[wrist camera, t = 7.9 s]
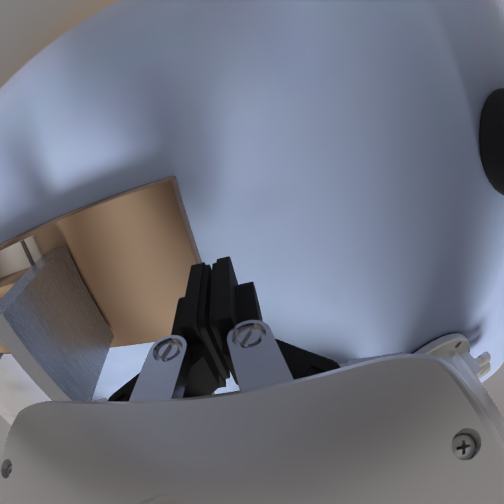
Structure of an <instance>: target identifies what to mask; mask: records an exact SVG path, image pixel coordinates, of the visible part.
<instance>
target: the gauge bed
mask: <svg viewBox="0 0 504 504" xmlns="http://www.w3.org/2000/svg"><path fill="white" fill-rule="evenodd" d="M63 245H66V248H67V250H68V252H69V254H70V256H71V258H72V261H73V263H74V265H75V267H76V269H77V271H78V273H79V275H80V277H81V279H82V281H83V283H84V284H85V286H86V288H87V290H88V292H89V294H90V296H91V297H92V299H93V301H94V303H95V305H96V306H97V308H98V310H99V311H100V313H101V315H102V317H103V318H104V320H105V322H106V323H107V325H108V326H109V328H110V330H111V331H112V333H113V334H114V338H113V340H112V343H111V345H110V347H118V346H127V345H135V344H142V343H150V342H156V341H158V340H159V339H161V338H163V337H166V336H170V335H171V332H172V327H173V322H174V318H175V313H176V308H177V304H178V300H179V298H181V297H185V293H186V288H187V283H188V278H189V274H190V269H191V265H195V264H199V263H202V262H201V259H200V256H199V253H198V250H197V247H196V244H195V241H194V238H193V235H192V231H191V228H190V225H189V222H188V219H187V215H186V212H185V209H184V206H183V202H182V199H181V196H180V192H179V189H178V186H177V182H176V179H175V176H173V177H169V178H166V179H163V180H159V181H156V182H153V183H150V184H147V185H143V186H140V187H137V188H134V189H131V190H128V191H125V192H122V193H120V194H117V195H114V196H111V197H108V198H105V199H103V200H100V201H97V202H95V203H92V204H89V205H87V206H84V207H82V208H79V209H77V210H74V211H72V212H69V213H67V214H64V215H62V216H60V217H57V218H55V219H53V220H50V221H48V222H46V223H44V224H41V225H39V226H37V227H35V228H33V229H30V230H28V231H26V232H24V233H22V234H20V235H18V236H16V237H14V238H12V239H10V240H8V241H6V242H4V243H2V244H0V300H1V299H2V298H3V296H4V295H5V294H6V293H7V292H8V291H9V290H10V289H11V287H12V286H13V285H14V284H15V283H16V282H17V281H18V280H19V279H20V278H21V277H22V275H23V274H24V273H25V272H26V271H27V270H28V269H29V268H30V267H31V266H32V265H33V264H34V263H35V262H36V261H37V260H38V259H39V258H40V257H41V256H42V255H43V254H44V253H45V252H47V251H49V250H52V249H55V248H58V247H60V246H63ZM0 353H4V354H11V353H10V352H9V350H8V349H7V348H6V346H5V345H4V344H2V345H0Z"/></svg>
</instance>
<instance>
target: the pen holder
mask: <svg viewBox="0 0 504 504" xmlns="http://www.w3.org/2000/svg"><path fill="white" fill-rule="evenodd" d="M480 151H481V157H482V162H483V166H484V170H485V172H486V175H487V177H488V179H489V181H490V183H491V184H492V186H493V187H494V188H495V189H496V190H497V191H498V192H499V193H501V194H503V195H504V88H502V89H497V90H495V91H494V92H493V93H492V94H491V95H490V96H489V97H488V99H487V101H486V103H485V105H484V108H483V111H482V115H481V122H480Z"/></svg>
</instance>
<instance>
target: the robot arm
mask: <svg viewBox="0 0 504 504" xmlns="http://www.w3.org/2000/svg"><path fill="white" fill-rule="evenodd" d="M489 361H490V354H489V353H488V352H484V353H483V354H481V355H480V356H478V358H476V359H474V358H473V357H472V356H471V354H470V343H469V341H468V340H467V339H466V337H465V336H464V335H462V334H459V333H455V334H448V335H445V336H442V337H440V338H438V339H436V340H434V341H432V342H430V343H429V344H427V345H425V346H423V347H422V348H421V349H419V350H418V351H416V352H415V353H413V354H410V353H407V352H400V353H394V354H388V355H382V356H375V357H368V358H361V359H353V360H347V363H346V364H338V363H336V362H334V361H333V360H331V359H328V358H325V357H322V356H319V355H317V354H314V353H311V352H309V351H306V350H303V349H301V348H298V347H295V346H293V345H290V344H288V343H285V342H283V341H280V340H278V339H275V338H274V336H273V333H272V331H271V329H270V327H269V326H268V325H267V324H266V323H264V322H263V321H262V316H261V311H260V306H259V302H258V298H257V294H256V290H255V286H254V283H253V282H249V283H245V284H240V285H238V282H237V279H236V276H235V272H234V269H233V265H232V262H231V259H230V257H225V258H220V259H217V263H214V264H213V266H212V269H211V267H210V265H205V263H204V262H203V263H199V264H195V265H191V269H190V274H189V278H188V283H187V288H186V293H185V297H181V298H179V300H178V304H177V308H176V313H175V318H174V322H173V327H172V332H171V335H170V336H166V337H163V338H161V339H159V340H158V341H156V342H155V343H154V344H153V345H152V347H151V349H150V350H149V353H148V355H147V357H146V360H145V362H144V365H143V367H142V370H141V372H140V373H139V374H138V375H136V376H135V377H134V378H133V379H131V380H130V381H129V382H128V383H126V384H125V385H124V386H123V387H121V388H120V389H119V390H117V391H116V392H115V393H114V394H113V395H112V396H111V397H110V398H109V399H108V400H107V399H106V398H104V399H99V400H95V401H46V402H41V403H36V404H33V405H30V406H28V407H26V408H24V409H23V410H21V411H20V412H19V413H18V415H17V417H16V418H15V420H14V422H13V424H12V426H11V429H10V431H9V434H8V437H7V439H6V442H5V445H4V448H3V451H2V454H1V458H0V504H504V418H503V416H502V414H501V413H500V411H499V410H498V408H497V406H496V405H495V403H494V401H493V400H492V398H491V397H490V395H489V394H488V392H487V391H486V389H485V388H484V386H483V385H482V383H481V382H480V380H479V378H481V377H482V376H484V375H485V374H487V373H488V372H489V371H490V363H489ZM230 372H231V374H232V376H233V378H234V380H235V382H236V384H237V385H239V389H240V391H234V392H228V393H221V394H215V393H214V391H215V390H216V389H217V388H221V387H226V379H227V378H230Z"/></svg>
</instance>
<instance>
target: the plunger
mask: <svg viewBox="0 0 504 504" xmlns="http://www.w3.org/2000/svg"><path fill="white" fill-rule="evenodd" d="M113 338H114V334H113V333H112V331H111V330H110V328H109V326H108V325H107V323H106V322H105V320H104V318H103V317H102V315H101V313H100V311H99V310H98V308H97V306H96V305H95V303H94V301H93V299H92V297H91V296H90V294H89V292H88V290H87V288H86V286H85V284H84V283H83V281H82V279H81V277H80V275H79V273H78V271H77V269H76V267H75V265H74V263H73V261H72V258H71V256H70V254H69V252H68V250H67V248H66V245H63V246H60V247H58V248H55V249H52V250H49V251H47V252H45V253H44V254H43V255H42V256H41V257H40V258H39V259H38V260H37V261H36V262H35V263H34V264H33V265H32V266H31V267H30V268H29V269H28V270H27V271H26V272H25V273H24V274H23V275H22V277H21V278H20V279H19V280H18V281H17V282H16V283H15V284H14V285H13V286H12V287H11V289H10V290H9V291H8V292H7V293H6V294H5V295H4V296H3V298H2V299H1V300H0V345H2V344H4V345H5V346H6V348H7V349H8V350H9V352H10V353H11V354H12V356H13V357H14V358H15V359H16V361H17V362H18V363H19V364H20V366H21V367H22V368H23V369H24V370H25V371H26V373H27V374H28V375H29V376H30V377H31V378H32V380H33V381H34V382H35V383H36V384H37V385H38V386H39V387H40V388H41V389H42V390H43V391H44V393H45V394H46V395H47V396H48V397H49V398H50V399H51V400H52V401H91V400H92V397H93V394H94V391H95V388H96V385H97V382H98V379H99V376H100V373H101V370H102V367H103V364H104V362H105V359H106V356H107V353H108V351H109V348H110V345H111V343H112V340H113Z"/></svg>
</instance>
